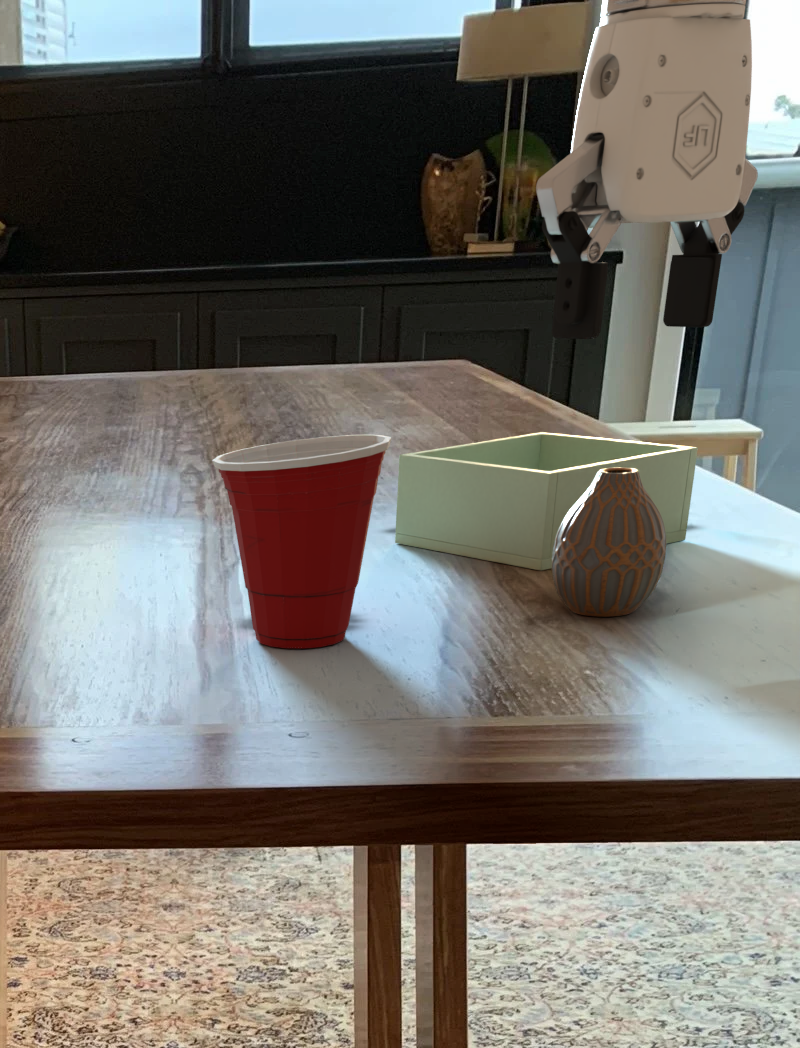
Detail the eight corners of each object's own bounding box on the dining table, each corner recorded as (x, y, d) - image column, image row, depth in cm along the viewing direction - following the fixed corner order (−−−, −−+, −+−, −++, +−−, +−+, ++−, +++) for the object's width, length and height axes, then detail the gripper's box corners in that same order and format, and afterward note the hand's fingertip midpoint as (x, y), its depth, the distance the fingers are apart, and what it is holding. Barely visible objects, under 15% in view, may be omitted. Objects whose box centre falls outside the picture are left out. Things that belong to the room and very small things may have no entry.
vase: (613, 593, 104) (629, 458, 100) (681, 614, 98) (701, 471, 94) (525, 606, 102) (538, 469, 98) (589, 627, 96) (605, 482, 92)
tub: (533, 516, 130) (541, 431, 127) (685, 540, 118) (698, 447, 115) (394, 543, 124) (399, 454, 120) (540, 571, 111) (549, 473, 108)
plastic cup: (247, 614, 105) (248, 429, 99) (402, 623, 100) (413, 429, 95) (187, 653, 97) (184, 454, 91) (353, 665, 92) (361, 455, 86)
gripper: (619, -21, 78) (579, 345, 85) (835, -13, 85) (779, 323, 93) (510, 0, 83) (481, 341, 91) (720, 6, 91) (677, 321, 99)
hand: (632, 332), depth 92 cm, fingers open, 9 cm apart
